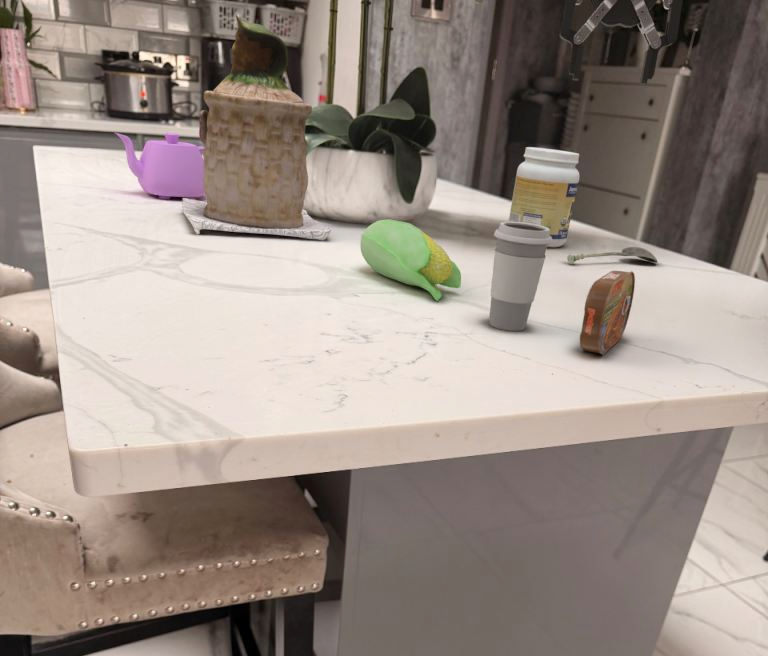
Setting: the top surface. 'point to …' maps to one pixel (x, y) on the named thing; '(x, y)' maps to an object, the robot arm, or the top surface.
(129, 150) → the teapot
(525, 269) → the cup
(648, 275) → the top surface
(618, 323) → the tin
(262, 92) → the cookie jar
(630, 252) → the soupspoon
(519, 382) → the top surface
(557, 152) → the supplement tub
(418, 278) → the corn
